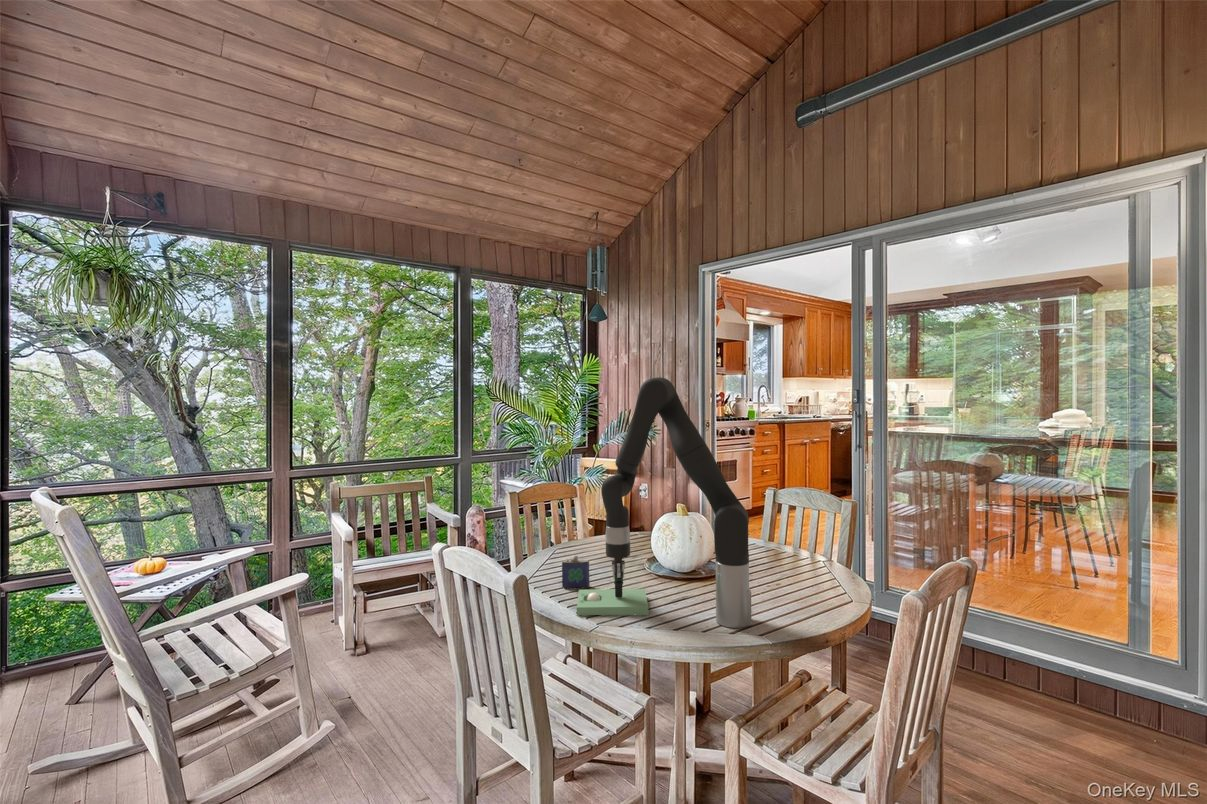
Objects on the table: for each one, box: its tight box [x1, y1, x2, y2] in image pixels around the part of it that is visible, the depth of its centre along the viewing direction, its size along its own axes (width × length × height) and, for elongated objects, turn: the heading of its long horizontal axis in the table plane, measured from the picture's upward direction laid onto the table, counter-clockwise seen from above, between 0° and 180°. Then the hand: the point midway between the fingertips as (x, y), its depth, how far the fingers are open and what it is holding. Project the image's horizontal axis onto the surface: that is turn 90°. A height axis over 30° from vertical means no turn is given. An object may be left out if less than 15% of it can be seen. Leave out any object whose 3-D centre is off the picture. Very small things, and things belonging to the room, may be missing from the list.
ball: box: [587, 593, 600, 601], centre depth 173 cm, size 4×4×4 cm
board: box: [576, 588, 649, 616], centre depth 173 cm, size 21×15×2 cm
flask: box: [561, 555, 590, 589], centre depth 190 cm, size 9×3×11 cm, turn 95°
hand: (618, 596), depth 172 cm, fingers closed
